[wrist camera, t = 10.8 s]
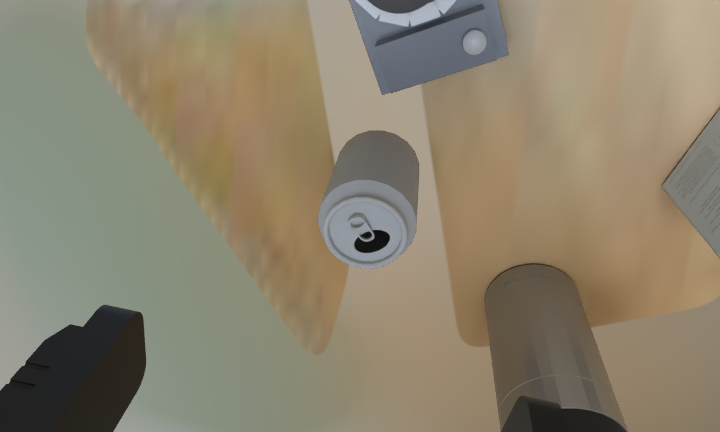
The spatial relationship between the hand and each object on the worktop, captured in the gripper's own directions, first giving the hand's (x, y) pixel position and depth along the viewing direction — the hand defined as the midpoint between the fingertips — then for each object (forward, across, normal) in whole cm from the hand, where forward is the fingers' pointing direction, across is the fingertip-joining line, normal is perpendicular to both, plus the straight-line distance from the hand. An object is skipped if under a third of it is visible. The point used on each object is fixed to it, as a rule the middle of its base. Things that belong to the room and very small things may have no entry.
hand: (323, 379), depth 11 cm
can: (+36, 0, +12) cm, 38 cm away
